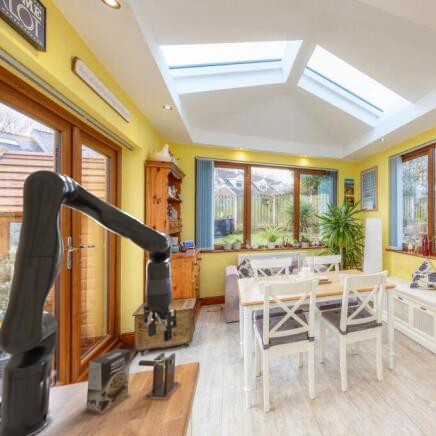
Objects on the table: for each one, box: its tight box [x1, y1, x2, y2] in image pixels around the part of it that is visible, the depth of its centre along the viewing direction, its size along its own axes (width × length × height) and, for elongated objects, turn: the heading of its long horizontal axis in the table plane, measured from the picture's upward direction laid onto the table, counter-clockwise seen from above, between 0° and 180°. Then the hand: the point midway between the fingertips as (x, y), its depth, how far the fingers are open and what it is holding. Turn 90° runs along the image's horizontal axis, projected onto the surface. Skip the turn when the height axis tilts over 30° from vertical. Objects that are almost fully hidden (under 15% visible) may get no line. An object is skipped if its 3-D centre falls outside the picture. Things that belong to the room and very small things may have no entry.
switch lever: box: [138, 356, 169, 367], centre depth 89 cm, size 12×5×2 cm, turn 1°
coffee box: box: [86, 348, 131, 413], centre depth 87 cm, size 9×6×16 cm
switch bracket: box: [145, 352, 180, 398], centre depth 94 cm, size 8×7×13 cm
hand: (160, 338), depth 88 cm, fingers open, 8 cm apart
